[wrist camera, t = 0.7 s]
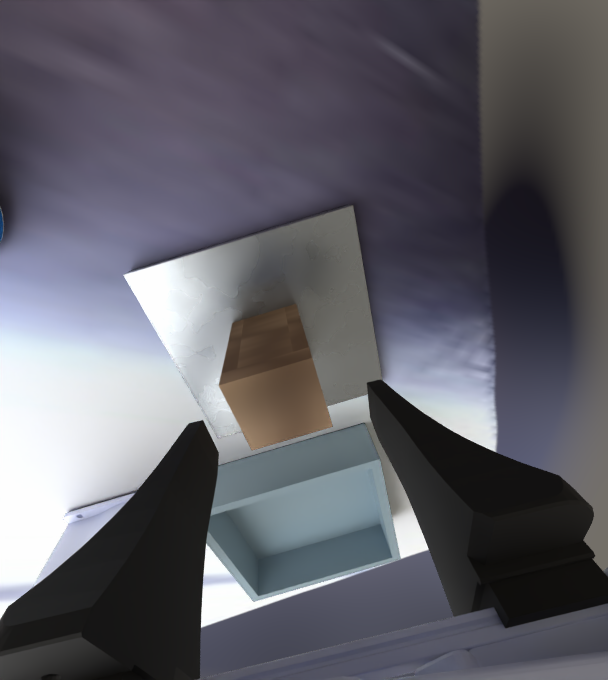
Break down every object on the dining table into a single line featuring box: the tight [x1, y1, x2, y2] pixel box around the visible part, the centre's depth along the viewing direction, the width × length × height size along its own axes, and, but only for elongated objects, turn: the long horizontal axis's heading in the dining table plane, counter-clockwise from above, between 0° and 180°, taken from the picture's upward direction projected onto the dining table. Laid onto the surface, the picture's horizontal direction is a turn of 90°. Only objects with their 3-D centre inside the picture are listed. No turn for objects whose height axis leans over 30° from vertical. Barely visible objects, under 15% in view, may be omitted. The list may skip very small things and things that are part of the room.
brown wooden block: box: [219, 304, 333, 450], centre depth 17 cm, size 4×4×7 cm
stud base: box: [124, 205, 382, 438], centre depth 19 cm, size 14×14×5 cm
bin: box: [206, 423, 401, 602], centre depth 29 cm, size 16×16×4 cm
